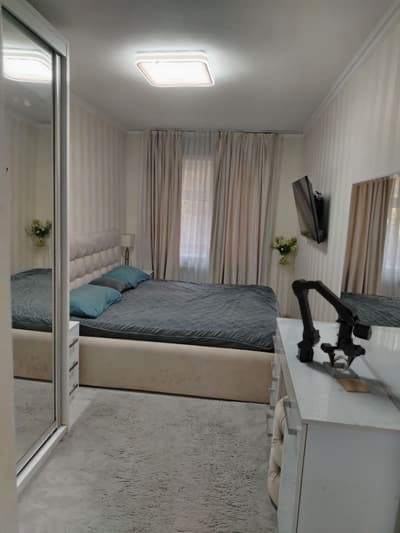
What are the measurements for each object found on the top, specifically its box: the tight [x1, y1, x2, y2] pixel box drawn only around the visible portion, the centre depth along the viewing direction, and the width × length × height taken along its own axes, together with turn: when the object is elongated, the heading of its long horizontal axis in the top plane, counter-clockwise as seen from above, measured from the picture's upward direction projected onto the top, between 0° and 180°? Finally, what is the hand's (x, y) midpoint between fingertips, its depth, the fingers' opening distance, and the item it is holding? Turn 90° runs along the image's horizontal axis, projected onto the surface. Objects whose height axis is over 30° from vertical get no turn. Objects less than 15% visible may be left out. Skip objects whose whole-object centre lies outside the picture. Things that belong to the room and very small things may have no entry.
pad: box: [335, 378, 372, 394], centre depth 153 cm, size 10×10×1 cm
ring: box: [332, 354, 349, 373], centre depth 166 cm, size 7×3×8 cm, turn 74°
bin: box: [322, 361, 359, 380], centre depth 166 cm, size 11×13×2 cm
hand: (340, 366), depth 166 cm, fingers closed on ring, 7 cm apart
